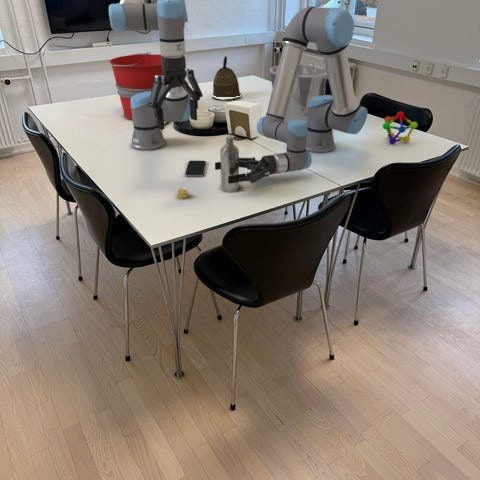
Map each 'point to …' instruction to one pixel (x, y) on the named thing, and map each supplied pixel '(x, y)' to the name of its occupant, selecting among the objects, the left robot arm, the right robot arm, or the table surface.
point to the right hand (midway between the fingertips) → (221, 172)
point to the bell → (225, 82)
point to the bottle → (229, 165)
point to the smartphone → (195, 168)
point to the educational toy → (398, 128)
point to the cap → (182, 194)
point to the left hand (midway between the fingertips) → (177, 123)
